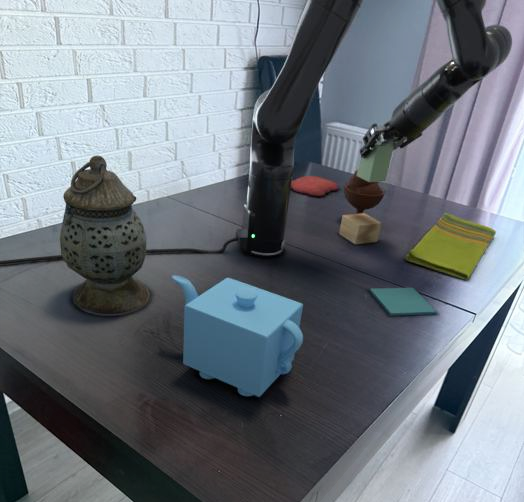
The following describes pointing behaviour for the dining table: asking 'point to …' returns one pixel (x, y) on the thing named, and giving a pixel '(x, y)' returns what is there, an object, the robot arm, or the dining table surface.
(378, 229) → the birch block
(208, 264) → the dining table surface
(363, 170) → the green block
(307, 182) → the patty
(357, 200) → the ice cream bowl
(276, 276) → the dining table surface
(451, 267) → the dish towel
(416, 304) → the mat
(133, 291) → the lantern
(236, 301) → the teapot
